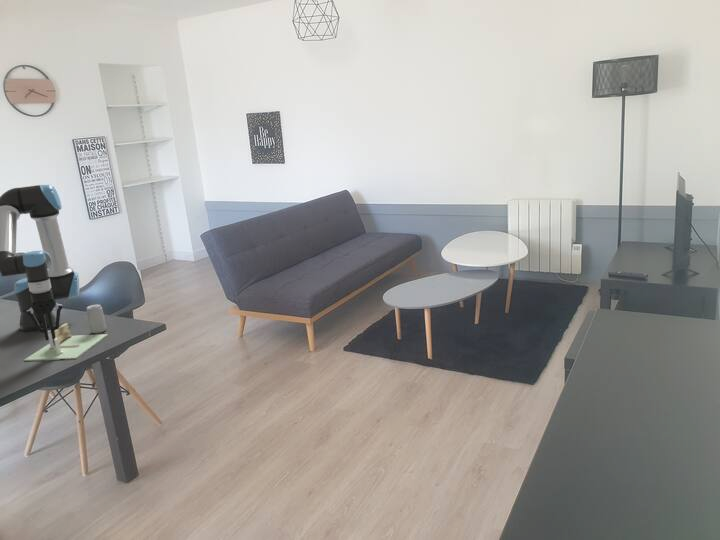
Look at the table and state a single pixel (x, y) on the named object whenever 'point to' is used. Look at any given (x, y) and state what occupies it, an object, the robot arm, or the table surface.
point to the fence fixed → (62, 333)
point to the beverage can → (96, 319)
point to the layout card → (68, 348)
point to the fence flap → (57, 346)
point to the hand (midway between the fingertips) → (52, 346)
